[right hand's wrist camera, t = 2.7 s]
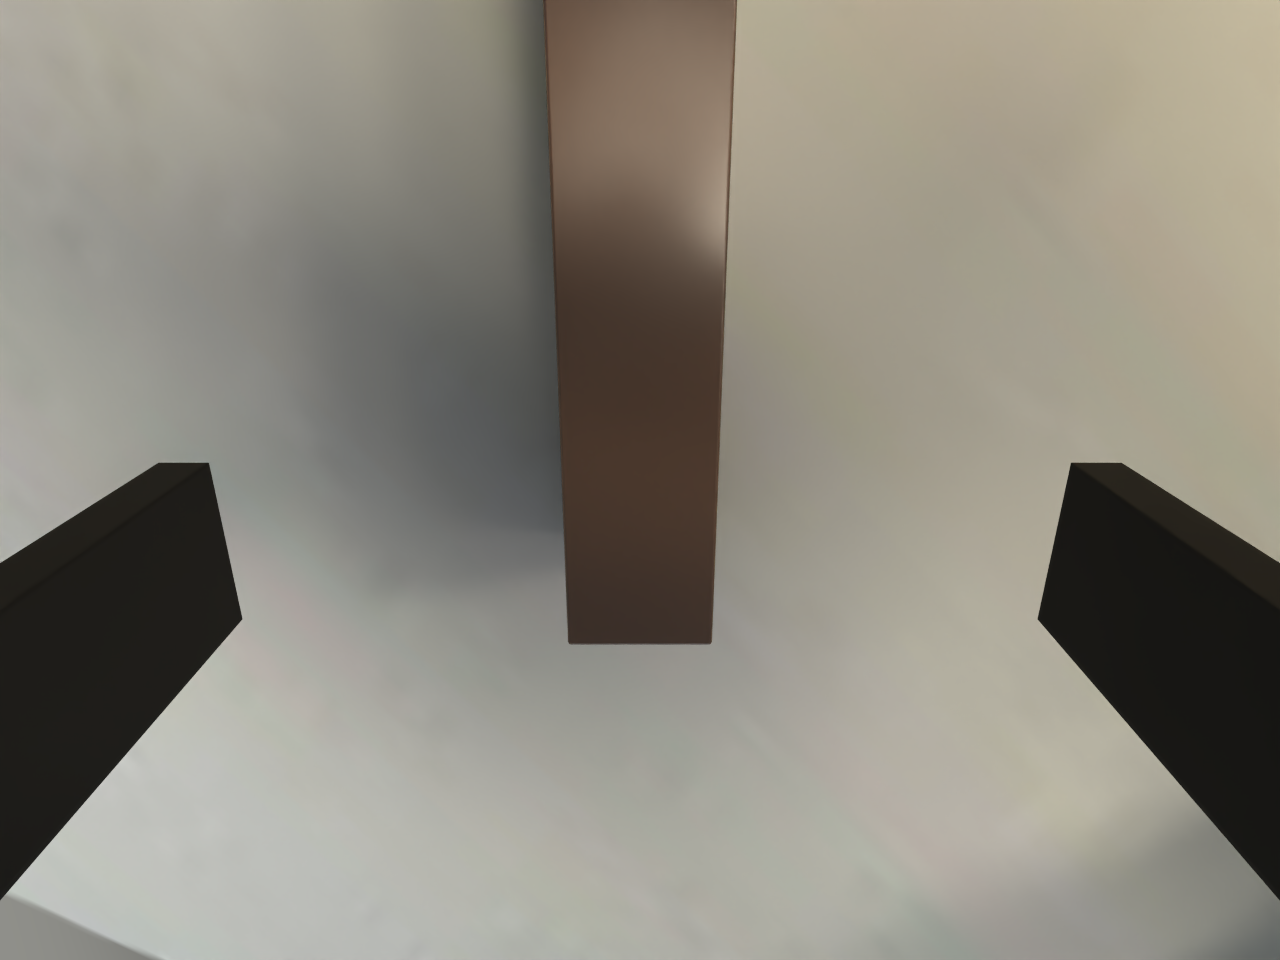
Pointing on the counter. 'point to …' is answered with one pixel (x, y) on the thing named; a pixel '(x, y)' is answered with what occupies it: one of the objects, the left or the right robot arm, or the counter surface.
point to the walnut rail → (640, 305)
